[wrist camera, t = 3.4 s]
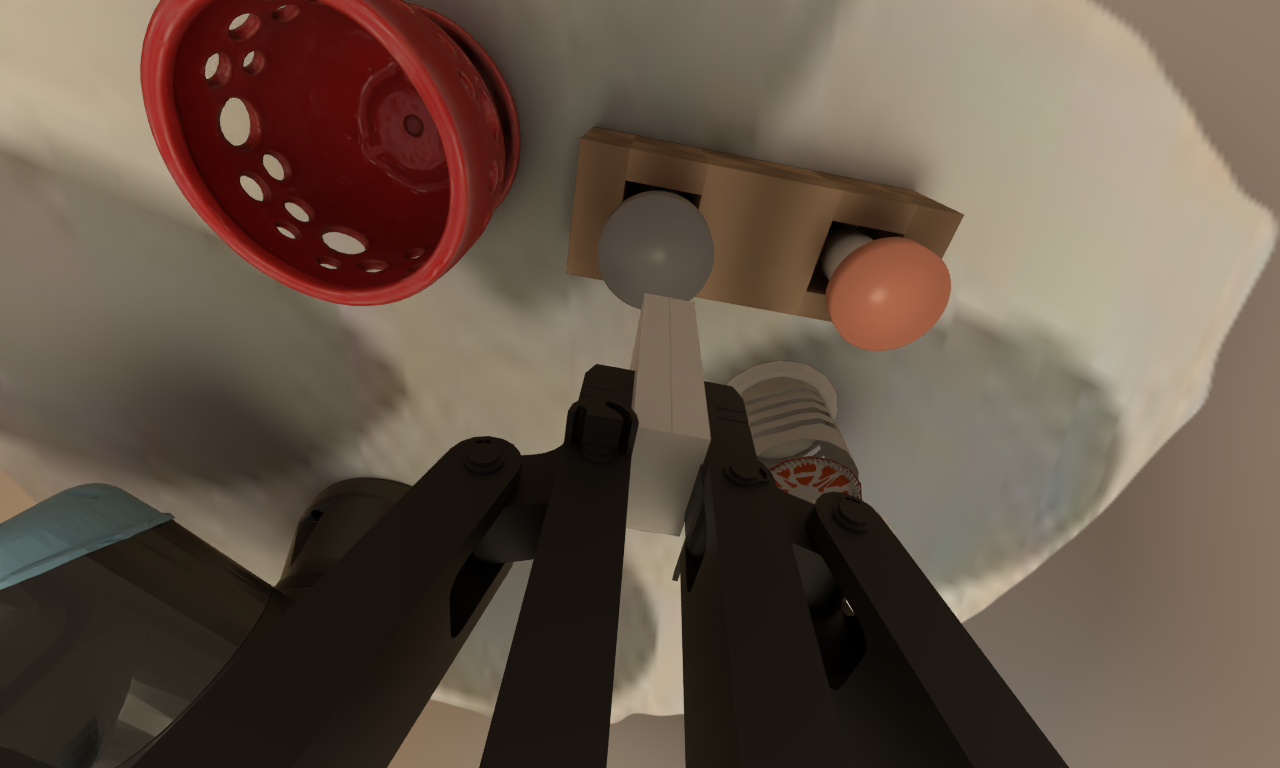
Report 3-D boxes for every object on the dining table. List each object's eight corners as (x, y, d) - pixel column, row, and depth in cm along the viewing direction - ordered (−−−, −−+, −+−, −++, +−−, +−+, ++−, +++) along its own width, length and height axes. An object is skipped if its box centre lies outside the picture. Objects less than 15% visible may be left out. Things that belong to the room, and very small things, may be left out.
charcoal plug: (604, 253, 30) (590, 300, 24) (618, 159, 27) (606, 185, 21) (691, 269, 30) (699, 319, 24) (712, 178, 28) (727, 209, 21)
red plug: (785, 286, 31) (815, 340, 25) (815, 198, 28) (859, 234, 22) (867, 301, 31) (917, 358, 25) (905, 215, 28) (972, 256, 22)
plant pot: (338, -66, 26) (128, -153, 16) (570, 83, 29) (521, 92, 19) (293, 172, 32) (122, 220, 22) (488, 273, 35) (418, 357, 25)
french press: (829, 459, 43) (995, 845, 21) (691, 463, 43) (719, 839, 22) (847, 357, 38) (1089, 732, 16) (689, 363, 38) (726, 729, 17)
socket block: (580, 242, 34) (566, 273, 29) (593, 126, 30) (580, 138, 25) (868, 295, 35) (903, 334, 30) (914, 191, 31) (964, 214, 26)
